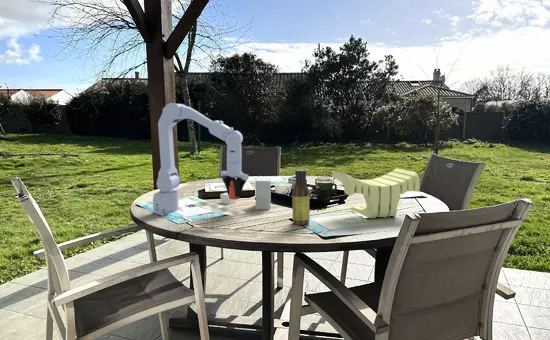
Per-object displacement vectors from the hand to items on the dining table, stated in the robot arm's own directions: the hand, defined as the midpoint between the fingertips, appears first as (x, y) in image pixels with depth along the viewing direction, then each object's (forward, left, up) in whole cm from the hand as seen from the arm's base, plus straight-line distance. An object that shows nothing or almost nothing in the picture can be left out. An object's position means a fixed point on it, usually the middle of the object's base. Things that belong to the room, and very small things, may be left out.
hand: (234, 195), depth 146 cm
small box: (+15, -1, -8) cm, 17 cm away
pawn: (0, 0, -1) cm, 1 cm away
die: (+10, +16, -8) cm, 20 cm away
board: (0, +10, -8) cm, 13 cm away
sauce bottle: (+10, -26, -8) cm, 29 cm away
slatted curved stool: (+41, -39, -8) cm, 57 cm away
